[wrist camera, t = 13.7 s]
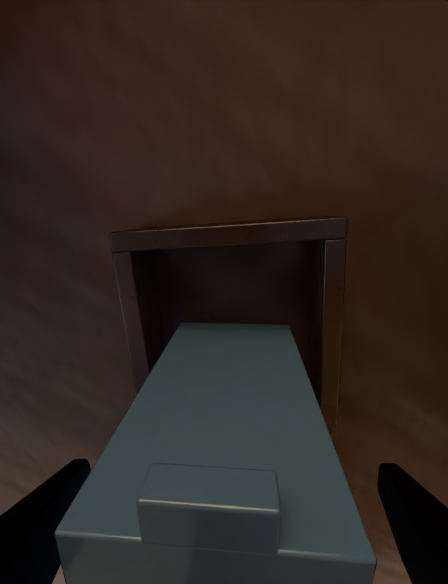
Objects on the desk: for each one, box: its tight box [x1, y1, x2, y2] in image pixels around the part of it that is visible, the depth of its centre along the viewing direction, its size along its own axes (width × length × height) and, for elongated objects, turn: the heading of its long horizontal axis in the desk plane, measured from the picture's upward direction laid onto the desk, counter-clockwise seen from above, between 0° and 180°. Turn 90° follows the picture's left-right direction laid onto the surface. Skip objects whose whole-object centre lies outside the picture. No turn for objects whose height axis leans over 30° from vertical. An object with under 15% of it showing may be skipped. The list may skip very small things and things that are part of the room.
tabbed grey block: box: [54, 322, 377, 584], centre depth 11 cm, size 6×11×10 cm, turn 0°
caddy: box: [109, 216, 347, 450], centre depth 14 cm, size 15×9×3 cm, turn 4°
